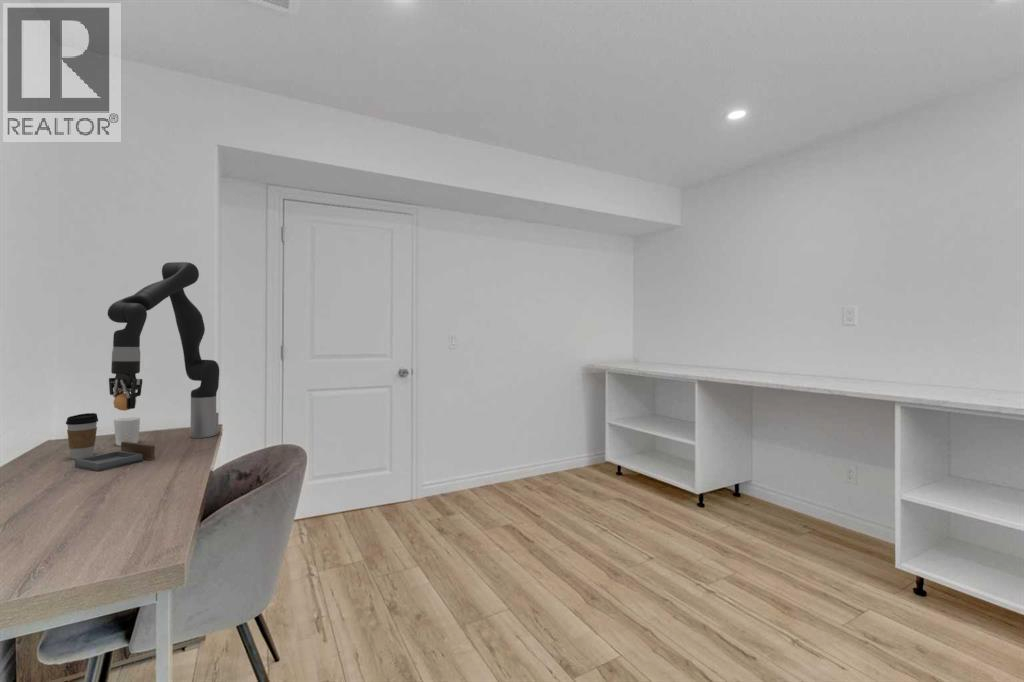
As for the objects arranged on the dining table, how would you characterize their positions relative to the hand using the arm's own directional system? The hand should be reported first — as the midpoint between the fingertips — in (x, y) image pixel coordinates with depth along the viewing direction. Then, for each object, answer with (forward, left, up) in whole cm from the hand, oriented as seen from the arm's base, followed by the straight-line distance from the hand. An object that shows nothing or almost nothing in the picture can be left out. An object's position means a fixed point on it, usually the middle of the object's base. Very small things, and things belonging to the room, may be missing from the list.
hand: (124, 407), depth 155 cm
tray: (+4, 0, -19) cm, 19 cm away
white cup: (-16, -26, -19) cm, 36 cm away
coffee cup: (+2, -19, -19) cm, 27 cm away
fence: (-4, 0, -19) cm, 19 cm away
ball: (0, 0, -1) cm, 1 cm away
